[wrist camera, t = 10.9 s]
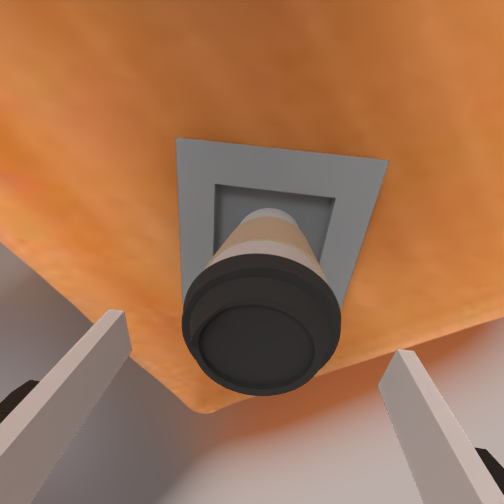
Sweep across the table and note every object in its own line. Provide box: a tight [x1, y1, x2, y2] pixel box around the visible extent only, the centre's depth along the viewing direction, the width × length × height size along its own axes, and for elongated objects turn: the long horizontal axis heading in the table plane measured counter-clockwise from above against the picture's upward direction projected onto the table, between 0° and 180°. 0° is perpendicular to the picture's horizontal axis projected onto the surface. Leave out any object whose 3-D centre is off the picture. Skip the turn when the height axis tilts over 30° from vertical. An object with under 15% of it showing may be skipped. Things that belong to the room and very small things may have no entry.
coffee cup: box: [182, 208, 341, 396], centre depth 18 cm, size 9×9×15 cm
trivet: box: [176, 138, 389, 310], centre depth 25 cm, size 18×18×2 cm
